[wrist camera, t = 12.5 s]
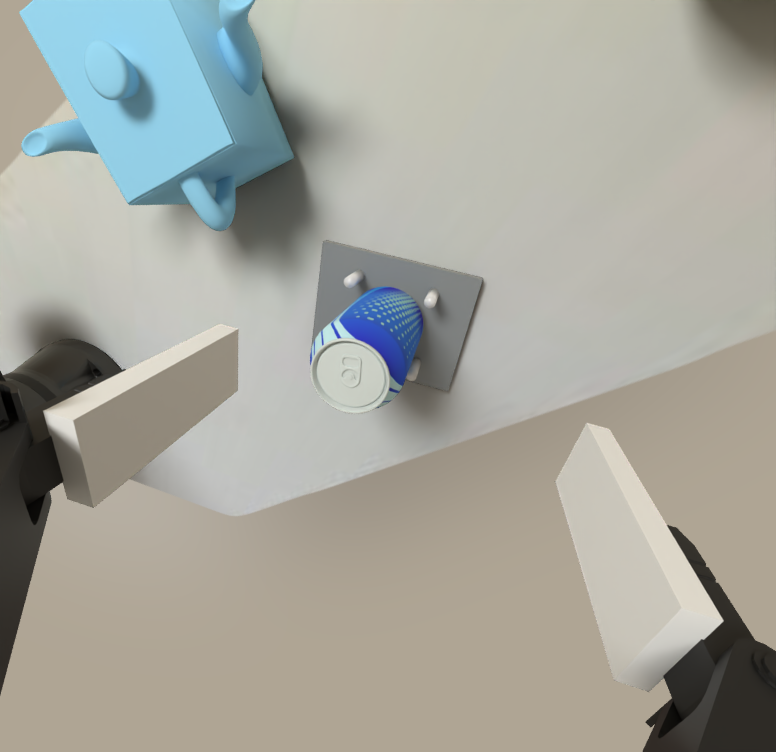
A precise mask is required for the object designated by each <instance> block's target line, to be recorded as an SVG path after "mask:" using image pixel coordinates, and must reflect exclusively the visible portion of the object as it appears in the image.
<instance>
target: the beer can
mask: <svg viewBox="0 0 776 752" xmlns="http://www.w3.org/2000/svg"><path fill="white" fill-rule="evenodd" d="M422 332H423V317H422V313H421V311H420V308H419V306H418V305H417V303H416V302H415V301H414V299H413V298H412V297H411V296H409V295H408V294H407V293H405V292H404V291H402V290H400V289H397V288H394V287H387V286H383V287H376V288H373V289H371V290H368V291H367V292H365V293H364V294H363V295H361V296H360V297H359V298H358V299H357V300H356V301H355V302H353V303H352V304H351V305H350V306H349V307H348V308H347V309H345V310H344V311H343V312H342V313H341V314H340V315H339V316H337V317H336V318H335V319H334V320H333V321H332V322H331V323H329V324H328V325H327V326H326V327H325V328H324V329H323V330H322V331H321V332H320V333H319V334H318V336H317V337H316V339H315V341H314V343H313V345H312V349H311V354H310V365H311V367H310V375H311V380H312V384H313V386H314V388H315V390H316V392H317V393H318V395H319V396H320V397H321V398H322V399H323V400H324V401H325V402H326V403H327V404H328V405H330V406H331V407H333V408H335V409H337V410H339V411H342V412H345V413H351V414H360V413H365V412H369V411H371V410H373V409H375V408H379V407H381V406H383V405H385V404H387V403H389V402H390V401H391V400H392V399H394V398H395V397H396V395H397V394H398V393H399V392H400V390H401V388H402V386H403V384H404V382H405V379H406V376H407V373H408V371H409V368H410V365H411V363H412V360H413V357H414V354H415V352H416V349H417V346H418V344H419V341H420V338H421V335H422Z"/></svg>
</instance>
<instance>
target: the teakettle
mask: <svg viewBox="0 0 776 752" xmlns="http://www.w3.org/2000/svg"><path fill="white" fill-rule="evenodd" d="M254 2H255V0H33V1H31V3H29V4H28V5H27V6H26V7H25V8H24V9H23V10H21V11H20V12H19V13H20V15H21V17H22V19H23V21H24V22H25V24H26V26H27V28H28V30H29V31H30V33H31V35H32V37H33V39H34V40H35V42H36V44H37V46H38V48H39V49H40V51H41V53H42V55H43V56H44V58H45V60H46V62H47V63H48V65H49V67H50V69H51V71H52V72H53V74H54V76H55V78H56V79H57V81H58V83H59V85H60V87H61V88H62V90H63V92H64V94H65V95H66V97H67V99H68V101H69V102H70V104H71V106H72V108H73V109H74V111H75V113H76V115H77V116H78V119H74V120H69V121H65V122H61V123H57V124H53V125H49V126H45V127H42V128H39V129H36V130H34V131H32V132H30V133H29V134H28V135H27V136H26V137H25V138H24V139H23V142H22V150H23V152H24V153H25V154H26V155H28V156H32V157H34V156H41V155H45V154H48V153H52V152H58V151H83V152H90V153H96V154H99V155H100V157H101V158H102V160H103V162H104V164H105V165H106V167H107V169H108V170H109V172H110V174H111V176H112V177H113V179H114V181H115V183H116V184H117V186H118V188H119V189H120V191H121V193H122V194H123V196H124V198H125V199H126V201H127V203H128V204H129V205H164V204H191V205H192V207H193V208H194V210H195V211H196V213H197V214H198V215H199V217H200V218H201V219H202V220H203V222H204V223H205V224H206V225H208V226H209V227H210V228H212V229H214V230H216V231H222V230H225V229H227V228H228V227H229V226H230V225H231V223H232V221H233V218H234V214H235V207H236V194H235V188H237V187H239V186H241V185H243V184H245V183H247V182H249V181H251V180H253V179H255V178H256V177H258V176H260V175H262V174H264V173H266V172H268V171H270V170H272V169H274V168H276V167H278V166H280V165H281V164H283V163H285V162H287V161H289V160H291V159H293V158H294V155H293V153H292V150H291V148H290V145H289V143H288V140H287V138H286V135H285V133H284V130H283V128H282V125H281V123H280V121H279V118H278V116H277V113H276V111H275V108H274V106H273V103H272V101H271V98H270V96H269V94H268V91H267V89H266V86H265V84H264V81H263V79H262V70H263V62H262V57H261V52H260V48H259V45H258V42H257V40H256V38H255V35H254V33H253V31H252V29H251V27H250V25H249V23H248V19H247V18H248V13H249V11H250V9H251V7H252V5H253V4H254ZM214 199H215V200H214Z"/></svg>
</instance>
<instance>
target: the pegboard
mask: <svg viewBox="0 0 776 752" xmlns="http://www.w3.org/2000/svg"><path fill="white" fill-rule="evenodd" d="M482 281H483V278H482V277H478V276H474V275H470V274H466V273H461V272H457V271H453V270H449V269H445V268H441V267H436V266H432V265H428V264H424V263H420V262H416V261H411V260H407V259H403V258H399V257H395V256H391V255H386V254H382V253H378V252H374V251H370V250H366V249H362V248H357V247H353V246H349V245H345V244H341V243H337V242H332V241H328V240H326V241H323V246H322V255H321V265H320V274H319V283H318V292H317V301H316V310H315V319H314V329H313V338H312V345H313V343H314V341H315V339H316V337H317V336H318V334H319V333H320V332H321V331H322V330H323V329H324V328H325V327H326V326H327V325H328V324H329V323H331V322H332V321H333V320H334V319H335V318H336V317H337V316H339V315H340V314H341V313H342V312H343V311H344V310H345V309H347V308H348V307H349V306H350V305H351V304H352V303H353V302H355V301H356V300H357V299H358V298H359V297H360V296H361V295H363V294H364V293H365V292H367V291H368V290H371V289H373V288H376V287H383V286H387V287H394V288H397V289H400V290H402V291H404V292H405V293H407V294H408V295H409V296H411V297H412V298H413V299H414V301H415V302H416V303H417V305H418V306H419V308H420V311H421V313H422V317H423V332H422V335H421V338H420V341H419V344H418V346H417V349H416V352H415V354H414V357H413V360H412V363H411V365H410V368H409V371H408V373H407V376H406V379H405V380H407V381H411V382H415V383H418V384H422V385H426V386H429V387H433V388H437V389H440V390H444V391H448V390H449V386H450V383H451V380H452V377H453V374H454V370H455V367H456V364H457V361H458V358H459V354H460V351H461V348H462V345H463V341H464V338H465V335H466V332H467V329H468V325H469V322H470V319H471V316H472V313H473V309H474V306H475V303H476V300H477V297H478V293H479V290H480V287H481V284H482ZM311 349H312V347H311Z"/></svg>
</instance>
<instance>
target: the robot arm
mask: <svg viewBox="0 0 776 752" xmlns="http://www.w3.org/2000/svg"><path fill="white" fill-rule="evenodd" d="M236 391H238V329H237V328H234V327H230V326H226V325H222V324H218V325H216V326H214V327H212V328H210V329H208V330H206V331H204V332H202V333H200V334H198V335H196V336H194V337H192V338H190V339H188V340H186V341H184V342H182V343H180V344H178V345H176V346H174V347H172V348H170V349H168V350H166V351H164V352H162V353H160V354H158V355H156V356H153V357H151V358H149V359H147V360H145V361H143V362H141V363H139V364H137V365H135V366H133V367H131V368H129V369H127V370H126V369H124V370H120V368H119V367H118V366H117V365H116V364H115V362H114V361H113V360H112V359H111V358H110V357H108V356H107V355H106V354H105V353H104V352H102V351H101V350H99V349H98V348H96V347H95V346H93V345H91V344H88V343H86V342H83V341H80V340H75V339H66V340H61V341H58V342H55V343H52V344H50V345H47V346H45V347H43V348H42V349H40V350H39V351H38V352H37V353H36V354H35V355H34V356H32V357H31V358H30V359H28V360H27V361H25V362H24V363H23V364H22V365H20V366H19V367H18V368H16V369H15V370H14V371H13V372H11V373H8V374H6V375H2V373H1V371H0V694H1V690H2V687H3V683H4V679H5V675H6V672H7V668H8V664H9V660H10V656H11V653H12V649H13V645H14V641H15V638H16V634H17V630H18V626H19V622H20V619H21V615H22V611H23V607H24V603H25V600H26V596H27V592H28V588H29V585H30V581H31V577H32V573H33V569H34V566H35V562H36V558H37V555H38V551H39V547H40V543H41V539H42V536H43V532H44V528H45V524H46V521H47V516H48V513H49V509H50V506H51V495H50V490H52V489H53V488H55V487H56V486H58V485H59V484H60V483H62V482H63V485H64V488H65V492H66V496H67V499H69V500H72V501H75V502H78V503H81V504H84V505H87V506H90V507H93V508H94V507H95V506H97V505H98V504H99V503H100V502H101V501H103V500H104V499H105V498H106V497H108V496H109V495H110V494H111V493H112V492H114V491H115V490H116V489H117V488H118V487H120V486H121V485H122V484H124V483H125V482H126V481H127V480H128V479H130V478H131V477H132V476H133V475H135V474H136V473H137V472H138V471H140V470H141V469H142V468H143V467H144V466H146V465H147V464H148V463H149V462H151V461H152V460H153V459H154V458H155V457H157V456H158V455H159V454H160V453H162V452H163V451H164V450H165V449H167V448H168V447H169V446H170V445H171V444H173V443H174V442H175V441H176V440H178V439H179V438H180V437H181V436H182V435H184V434H185V433H186V432H187V431H189V430H190V429H191V428H192V427H193V426H195V425H196V424H197V423H198V422H200V421H201V420H202V419H203V418H205V417H206V416H207V415H208V414H209V413H211V412H212V411H213V410H214V409H216V408H217V407H218V406H219V405H220V404H222V403H223V402H224V401H225V400H227V399H228V398H229V397H230V396H232V395H233V394H234V393H235V392H236ZM556 485H557V489H558V492H559V496H560V499H561V502H562V506H563V509H564V512H565V516H566V519H567V523H568V526H569V530H570V533H571V536H572V540H573V543H574V546H575V549H576V553H577V557H578V560H579V563H580V566H581V570H582V573H583V577H584V580H585V583H586V587H587V590H588V594H589V597H590V601H591V604H592V607H593V611H594V614H595V618H596V621H597V624H598V628H599V631H600V635H601V638H602V642H603V645H604V648H605V652H606V655H607V658H608V662H609V665H610V668H611V672H612V675H613V678H614V680H615V681H618V682H621V683H624V684H627V685H630V686H633V687H636V688H639V689H642V690H645V691H648V692H649V691H650V690H652V688H654V687H655V686H656V685H657V684H658V683H659V682H660V681H661V680H662V679H663V678H664V679H665V681H666V684H667V686H668V689H669V691H670V694H671V696H672V699H671V700H669V701H668V702H667V703H666V704H665V705H664V706H663V707H662V708H660V709H659V710H658V711H657V712H656V713H655V714H654V715H653V716H651V717H650V718H649V719H648V720H647V721H646V723H647V724H648V725H649V726H650V727H652V726H653V725H654V724H655V726H654V728H653V730H652V732H651V734H650V736H649V739H648V741H647V743H646V745H645V747H644V749H643V752H776V651H775V650H773V649H771V648H770V647H768V646H767V645H765V644H763V643H760V642H757V641H755V639H754V638H753V636H752V635H751V633H750V631H749V630H748V628H747V627H746V625H745V624H744V623H743V621H742V619H741V617H740V616H739V614H738V613H737V611H736V610H735V608H734V607H733V605H732V603H730V600H729V599H728V597H727V596H726V594H725V593H724V591H723V589H722V588H721V586H720V585H719V584H718V583H716V581H715V580H716V579H715V577H714V575H713V574H712V572H711V571H710V569H709V568H708V567H706V563H705V561H704V560H703V558H702V557H701V555H700V554H699V552H698V550H697V549H696V547H695V546H694V545H693V544H692V543H691V542H690V541H689V540H688V539H687V538H686V537H685V536H684V535H683V534H682V533H681V532H680V531H679V530H678V529H677V528H676V527H672V526H669V525H666V523H665V522H664V520H663V518H662V517H661V515H660V513H659V512H658V510H657V508H656V507H655V505H654V503H653V502H652V500H651V498H650V497H649V495H648V493H647V491H646V490H645V488H644V487H643V485H642V483H641V481H640V480H639V478H638V476H637V475H636V473H635V471H634V470H633V468H632V466H631V465H630V463H629V461H628V460H627V458H626V456H625V455H624V453H623V451H622V450H621V448H620V446H619V445H618V443H617V441H616V440H615V438H614V436H613V434H612V433H611V431H610V429H608V428H604V427H600V426H596V425H593V424H589V423H586V426H585V427H584V429H583V431H582V433H581V435H580V437H579V438H578V440H577V442H576V444H575V446H574V448H573V450H572V452H571V453H570V455H569V457H568V459H567V461H566V463H565V465H564V466H563V468H562V470H561V472H560V474H559V476H558V478H557V480H556Z"/></svg>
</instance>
